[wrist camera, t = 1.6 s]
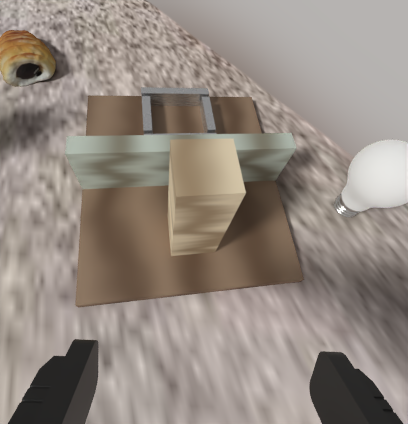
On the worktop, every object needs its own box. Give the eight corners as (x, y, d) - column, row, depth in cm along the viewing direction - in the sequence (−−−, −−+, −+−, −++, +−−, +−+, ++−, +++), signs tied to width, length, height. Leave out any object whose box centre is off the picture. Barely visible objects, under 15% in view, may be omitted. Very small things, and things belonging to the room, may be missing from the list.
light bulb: (308, 216, 33) (368, 160, 23) (324, 177, 36) (384, 113, 26) (360, 244, 32) (445, 198, 23) (372, 202, 35) (452, 146, 26)
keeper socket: (205, 100, 38) (207, 88, 36) (215, 150, 35) (217, 139, 33) (142, 100, 37) (141, 87, 35) (145, 152, 33) (144, 140, 31)
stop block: (208, 212, 31) (233, 138, 20) (215, 252, 29) (245, 192, 18) (167, 215, 30) (170, 139, 19) (171, 256, 28) (176, 196, 17)
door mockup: (249, 102, 41) (265, 57, 34) (299, 281, 29) (336, 262, 23) (90, 101, 37) (75, 51, 31) (78, 307, 26) (51, 293, 19)
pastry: (-6, 47, 39) (-22, 18, 36) (44, 39, 41) (34, 11, 38) (9, 92, 36) (-7, 65, 33) (63, 81, 38) (54, 54, 35)
